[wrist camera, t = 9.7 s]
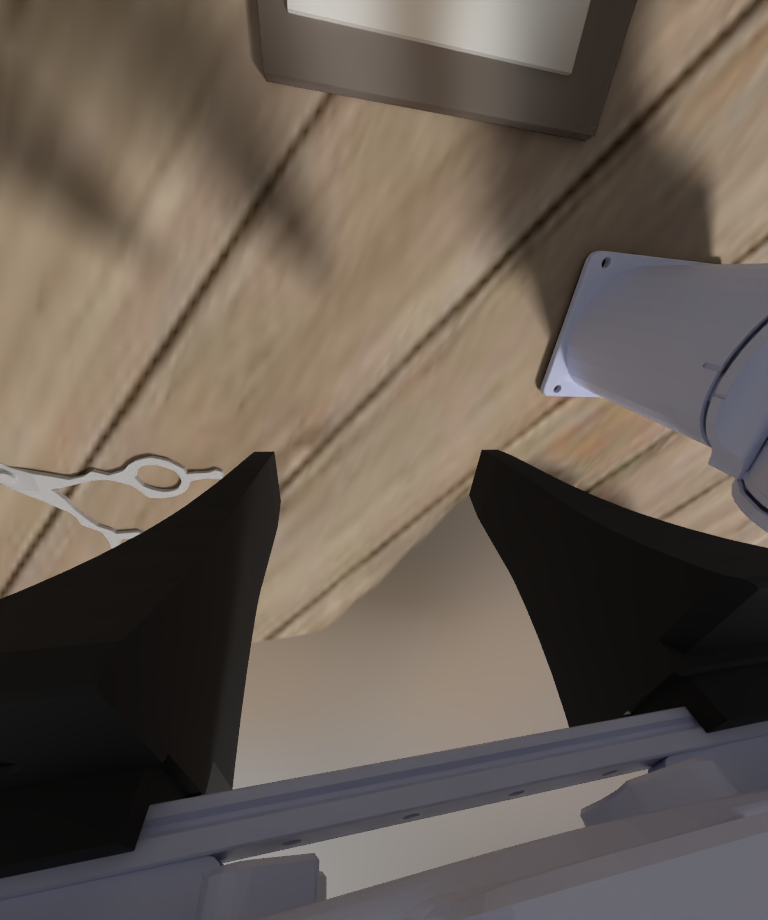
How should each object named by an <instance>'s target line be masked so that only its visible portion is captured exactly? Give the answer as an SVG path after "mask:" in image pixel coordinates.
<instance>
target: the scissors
mask: <svg viewBox="0 0 768 920" xmlns="http://www.w3.org/2000/svg"><path fill="white" fill-rule="evenodd" d="M146 465H159V466H162V467H166V468H169V469H171V470H173V471H175V472H176V473H177V474H178V475H179V477H180V479H181V481H182V482H181V484H180V486H179V487H177V488H175V489H160V488H155V487H152V486H150V485H147V484H145V483H144V482H143V481H142V480H141V479H140V478H139V477H138V476H137V473H138V470H139V468H140V467H143V466H146ZM223 475H224V472H223V470H221V469H217V468H216V469H213V470H210V471H194V472H188V471H187V469H186V468H185V467H184V466H182V465H180V464H178V463H177V462H175V461H173V460H171V459H167V458H163V457H158V456H147V457H143V458H139V459H137V460H135V461H133V462H131V463H130V464H129V465H128V466H127V468H126V469H123V470H120V471H116V472H113V473H109V472H105V471H101V470H97V469H94V470H92V471H91V472H89V473H87V474H85V475H81V476H76V477H68V476H63V475H58V474H52V473H46V472H39V471H33V470H27V469H21V468H14V467H9V466H7V465H4V464H1V463H0V484H4V485H6V486H8V487H10V488H12V489H13V490H15V491H18V492H20V493H23V494H26V495H28V496H31V497H34V498H36V499H39V500H42V501H44V502H46V503H49V504H51V505H53V506H55V507H58V508H60V509H62V510H65V511H67V512H69V513H71V514H72V515H74V516H75V517H76V518H77V519H78V520H79V522H80V523H81V524H82V526H85V527H88V528H91V529H94V530H97V531H100V532H102V533H103V534H104V536H105V537H106V538H107V540H108V541H109V543H110V546H111V548H112V549H113V548H114V547H116V546H118V545H120V543H121V540H122V539H131V538H133V537H135V536H137V535H139V534H141V533H143V532H144V531H142V530H130V531H117V530H115V529H114V528H111V527H108V526H105V525H102V524H99V523H98V522H96V521H95V520H93V519H92V518H90V517H89V516H88V515H86V514H85V513H84V512H82V511H81V510H80V509H79V508H78V507H76V506H75V505H74V504H73V503H72V502H71V501H70V499H69V498H67V497H66V496H65V495H64V494H63V493H61V492H60V491H59V490H58V489H56V488H61V487H66V486H71V485H75V484H79V483H83V482H88V481H93V480H112V481H116V482H120V483H124V484H128V485H131V486H133V487H135V488H136V489H138V490H139V491H140V492H142V493H143V494H144V495H146V496H147V497H151V498H168V497H173V496H176V495H179V494H182V493H184V492H185V491H186V490H187V489H188V487H189V485H190V482H191V481H194V480H200V479H207V478H210V479H222V478H223Z"/></svg>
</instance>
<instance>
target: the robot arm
mask: <svg viewBox="0 0 768 920" xmlns="http://www.w3.org/2000/svg"><path fill="white" fill-rule="evenodd" d="M604 259H605V264H604V266H603V267H602V261H603V260H604ZM557 385H558V387H557V389H556V390H554V388H555V387H556V386H557ZM540 390H541V393H542V394H544V395H546V396H573V397H603V398H605V399H607V400H609V401H612V402H614V403H616V404H618V405H620V406H622V407H625V408H627V409H629V410H631V411H633V412H635V413H638V414H640V415H642V416H644V417H646V418H648V419H651V420H653V421H655V422H657V423H659V424H661V425H664V426H666V427H668V428H670V429H672V430H675V431H677V432H679V433H681V434H683V435H685V436H688V437H690V438H692V439H694V440H696V441H698V442H701V443H703V444H705V445H707V446H709V447H711V448H712V454H711V457H710V460H709V462H708V464H709V465H711V466H713V467H715V468H717V469H719V470H721V471H723V472H725V473H727V474H729V475H731V476H733V477H735V480H734V482H733V484H732V496H733V499H734V501H735V503H736V504H737V506H738V507H739V508H740V510H741V511H742V512H743V513H744V514H745V515H746V516H747V517H748V518H749V519H750V520H751V521H753V522H754V523H755V524H757V525H758V526H759V527H760V528H762V529H763V530H764V531H766V532H767V533H768V263H763V264H711V263H703V262H694V261H686V260H677V259H669V258H660V257H652V256H644V255H635V254H627V253H618V252H610V251H594V252H592V253H591V254H590V255H589V256H588V257H587V259H586V261H585V264H584V267H583V270H582V272H581V275H580V278H579V281H578V284H577V286H576V289H575V292H574V295H573V298H572V301H571V303H570V306H569V309H568V312H567V315H566V317H565V320H564V323H563V326H562V329H561V332H560V334H559V337H558V340H557V343H556V346H555V349H554V351H553V354H552V357H551V360H550V363H549V365H548V368H547V371H546V374H545V377H544V380H543V382H542V385H541V389H540ZM469 496H470V498H471V501H472V503H473V506H474V509H475V511H476V514H477V516H478V518H479V520H480V522H481V524H482V525H483V527H484V529H485V531H486V533H487V534H488V536H489V538H490V539H491V541H492V543H493V545H494V546H495V548H496V550H497V551H498V553H499V555H500V557H501V558H502V560H503V562H504V563H505V565H506V567H507V569H508V570H509V572H510V574H511V576H512V578H513V580H514V582H515V584H516V586H517V588H518V591H519V593H520V595H521V597H522V600H523V602H524V604H525V606H526V609H527V611H528V613H529V616H530V618H531V621H532V623H533V626H534V628H535V630H536V633H537V635H538V638H539V640H540V643H541V645H542V649H543V651H544V654H545V656H546V659H547V662H548V665H549V667H550V670H551V673H552V675H553V679H554V681H555V685H556V687H557V691H558V694H559V697H560V700H561V703H562V705H563V709H564V712H565V715H566V718H567V721H568V725H569V728H565V729H560V730H554V731H549V732H544V733H538V734H532V735H527V736H521V737H516V738H511V739H505V740H500V741H494V742H489V743H483V744H478V745H473V746H467V747H462V748H456V749H451V750H445V751H440V752H435V753H430V754H424V755H418V756H413V757H407V758H402V759H397V760H392V761H386V762H380V763H376V764H370V765H364V766H359V767H354V768H348V769H343V770H337V771H332V772H326V773H321V774H315V775H310V776H304V777H299V778H294V779H288V780H283V781H277V782H272V783H267V784H261V785H256V786H251V787H245V788H239V789H235V790H232V787H233V778H234V769H235V761H236V753H237V744H238V736H239V727H240V718H241V711H242V704H243V696H244V689H245V681H246V674H247V667H248V660H249V654H250V647H251V641H252V634H253V628H254V622H255V616H256V610H257V604H258V599H259V595H260V590H261V587H262V583H263V579H264V576H265V572H266V568H267V565H268V561H269V557H270V554H271V550H272V546H273V542H274V539H275V535H276V531H277V527H278V520H279V512H280V504H281V499H280V492H279V484H278V476H277V469H276V461H275V453H274V452H254V453H252V454H251V455H250V456H249V457H247V458H246V459H245V460H244V461H243V462H241V463H240V464H239V465H238V466H237V467H236V468H234V469H233V470H232V471H231V472H230V473H228V474H227V475H226V476H225V477H224V478H222V479H221V480H220V481H219V482H217V483H216V484H215V485H214V486H212V487H211V488H210V489H208V490H207V491H205V492H204V493H203V494H201V495H200V496H199V497H197V498H196V499H195V500H193V501H192V502H191V503H189V504H188V505H186V506H185V507H183V508H182V509H180V510H179V511H177V512H176V513H174V514H173V515H171V516H170V517H168V518H166V519H165V520H163V521H161V522H160V523H158V524H156V525H155V526H153V527H151V528H150V529H148V530H146V531H145V532H143V533H141V534H139V535H137V536H135V537H133V538H131V539H129V540H128V541H126V542H124V543H122V544H120V545H118V546H116V547H114V548H113V549H111V550H109V551H107V552H105V553H103V554H101V555H99V556H97V557H95V558H93V559H91V560H89V561H87V562H84V563H82V564H80V565H78V566H76V567H74V568H72V569H70V570H67V571H65V572H63V573H61V574H58V575H56V576H54V577H52V578H49V579H47V580H45V581H43V582H40V583H38V584H36V585H33V586H31V587H29V588H26V589H24V590H22V591H19V592H17V593H14V594H12V595H9V596H7V597H4V598H2V599H0V920H768V548H765V547H760V546H756V545H751V544H747V543H742V542H738V541H733V540H729V539H725V538H721V537H717V536H714V535H710V534H706V533H703V532H699V531H695V530H691V529H688V528H684V527H681V526H678V525H674V524H671V523H668V522H664V521H661V520H658V519H655V518H652V517H649V516H646V515H643V514H640V513H637V512H634V511H632V510H629V509H626V508H623V507H621V506H618V505H616V504H613V503H611V502H608V501H606V500H603V499H601V498H598V497H596V496H593V495H591V494H589V493H586V492H584V491H582V490H580V489H578V488H576V487H574V486H571V485H569V484H567V483H565V482H563V481H561V480H559V479H557V478H555V477H553V476H551V475H549V474H547V473H545V472H543V471H541V470H539V469H537V468H535V467H533V466H531V465H529V464H527V463H526V462H524V461H522V460H520V459H518V458H516V457H513V456H511V455H509V454H507V453H505V452H502V451H500V450H482V451H481V455H480V458H479V462H478V465H477V469H476V472H475V476H474V479H473V483H472V487H471V490H470V494H469ZM645 769H649V770H648V774H645V775H642V776H639V777H636V778H633V779H630V780H628V781H626V782H625V783H624V784H623V785H622V786H621V787H620V788H619V789H618V790H616V791H615V792H613V793H611V794H610V795H608V796H606V797H605V798H603V799H601V800H599V801H597V802H595V803H593V804H591V805H589V806H587V807H585V808H583V809H581V818H582V820H583V822H584V824H585V827H584V828H581V829H576V830H572V831H568V832H564V833H561V834H557V835H553V836H549V837H546V838H542V839H538V840H534V841H530V842H527V843H523V844H519V845H515V846H512V847H508V848H504V849H501V850H497V851H494V852H490V853H487V854H483V855H480V856H476V857H472V858H469V859H466V860H462V861H458V862H455V863H451V864H448V865H444V866H441V867H438V868H434V869H430V870H427V871H423V872H420V873H417V874H413V875H410V876H406V877H403V878H399V879H396V880H393V881H389V882H386V883H382V884H379V885H375V886H372V887H368V888H365V889H361V890H358V891H355V892H351V893H348V894H344V895H341V896H337V897H334V898H330V899H327V900H326V876H325V875H324V873H323V872H321V871H319V859H318V858H317V856H316V855H315V853H310V854H301V855H292V856H282V857H272V858H262V859H253V860H246V861H239V862H235V863H231V864H227V865H223V864H222V863H225V862H230V861H234V860H239V859H243V858H248V857H252V856H257V855H261V854H266V853H271V852H275V851H280V850H284V849H289V848H293V847H297V846H302V845H307V844H311V843H315V842H320V841H325V840H329V839H334V838H338V837H343V836H347V835H352V834H356V833H361V832H365V831H370V830H374V829H379V828H383V827H388V826H392V825H397V824H401V823H406V822H411V821H415V820H419V819H424V818H429V817H433V816H437V815H442V814H447V813H451V812H456V811H460V810H465V809H469V808H474V807H478V806H483V805H487V804H492V803H496V802H500V801H505V800H510V799H514V798H519V797H523V796H528V795H532V794H537V793H541V792H546V791H550V790H555V789H559V788H564V787H568V786H573V785H578V784H582V783H587V782H591V781H595V780H600V779H605V778H609V777H614V776H618V775H623V774H627V773H631V772H636V771H641V770H645Z"/></svg>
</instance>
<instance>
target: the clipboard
mask: <svg viewBox="0 0 768 920" xmlns="http://www.w3.org/2000/svg"><path fill="white" fill-rule="evenodd" d="M636 1H637V0H257V2H258V14H259V26H260V37H261V49H262V60H263V72H264V75H265V78H266V81H268V82H273V83H279V84H284V85H289V86H295V87H300V88H305V89H311V90H316V91H322V92H327V93H332V94H338V95H343V96H348V97H354V98H359V99H364V100H370V101H375V102H380V103H386V104H391V105H396V106H402V107H407V108H413V109H418V110H423V111H429V112H434V113H439V114H445V115H450V116H455V117H461V118H466V119H471V120H477V121H482V122H487V123H493V124H498V125H504V126H509V127H514V128H520V129H525V130H530V131H536V132H541V133H546V134H552V135H557V136H562V137H568V138H573V139H578V140H584V141H585V140H587V139H589V138H591V137H593V136H595V133H596V130H597V127H598V123H599V120H600V117H601V114H602V110H603V107H604V104H605V101H606V98H607V94H608V91H609V88H610V85H611V82H612V78H613V75H614V72H615V69H616V65H617V62H618V59H619V56H620V53H621V49H622V46H623V43H624V40H625V37H626V33H627V30H628V27H629V24H630V20H631V17H632V14H633V11H634V8H635V4H636Z"/></svg>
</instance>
